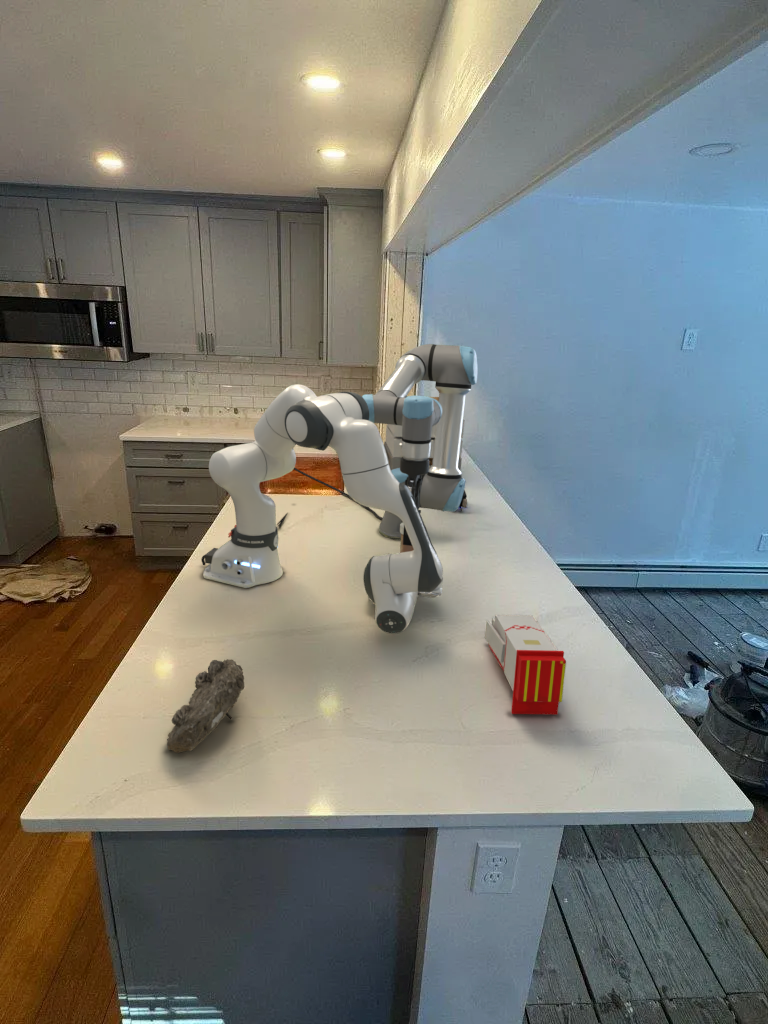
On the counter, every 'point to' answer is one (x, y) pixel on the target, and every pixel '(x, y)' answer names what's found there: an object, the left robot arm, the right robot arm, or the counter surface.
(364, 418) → the left robot arm
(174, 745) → the fossil
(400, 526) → the lid
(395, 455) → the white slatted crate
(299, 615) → the counter surface
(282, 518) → the feather
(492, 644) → the toy
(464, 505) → the figurine character
